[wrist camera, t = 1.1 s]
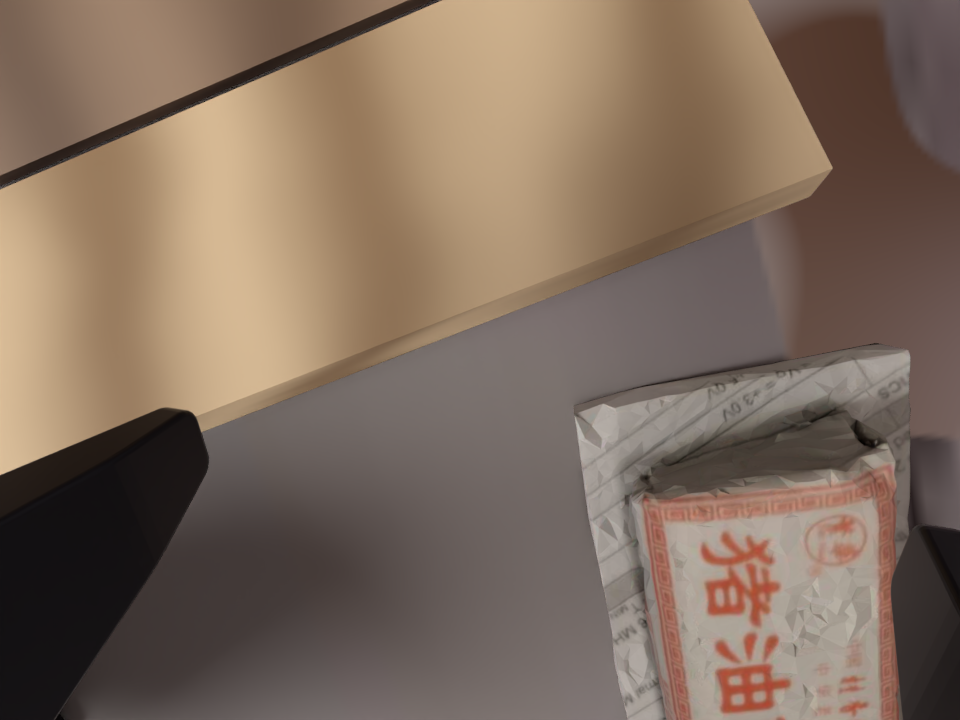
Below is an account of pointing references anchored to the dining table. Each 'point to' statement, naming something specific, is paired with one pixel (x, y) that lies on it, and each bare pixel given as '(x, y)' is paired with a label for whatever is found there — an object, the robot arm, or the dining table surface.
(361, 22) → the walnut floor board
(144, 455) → the robot arm
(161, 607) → the dining table surface
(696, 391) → the packaged product
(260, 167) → the oak plank
